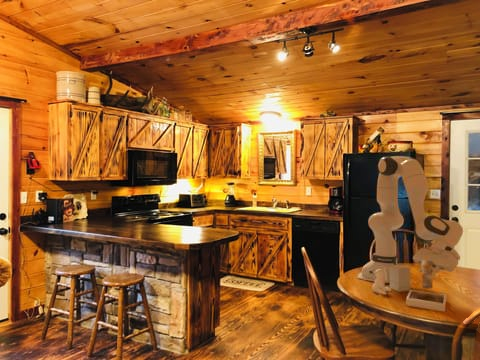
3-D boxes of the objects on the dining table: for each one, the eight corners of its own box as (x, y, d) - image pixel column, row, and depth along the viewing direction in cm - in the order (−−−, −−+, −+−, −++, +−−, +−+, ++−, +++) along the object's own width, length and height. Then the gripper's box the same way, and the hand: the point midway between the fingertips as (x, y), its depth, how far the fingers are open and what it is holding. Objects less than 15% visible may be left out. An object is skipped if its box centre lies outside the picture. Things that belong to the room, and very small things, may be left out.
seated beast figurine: (385, 296, 192) (385, 272, 192) (368, 293, 198) (368, 269, 197) (392, 292, 199) (392, 269, 199) (375, 288, 205) (375, 266, 204)
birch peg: (421, 287, 179) (421, 261, 179) (422, 285, 183) (422, 260, 182) (432, 289, 177) (432, 262, 176) (432, 286, 180) (433, 261, 180)
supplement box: (410, 292, 200) (410, 267, 199) (398, 293, 197) (398, 268, 197) (400, 287, 207) (401, 264, 206) (388, 289, 205) (389, 265, 204)
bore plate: (409, 304, 178) (409, 299, 177) (412, 297, 189) (412, 292, 189) (441, 310, 171) (441, 304, 171) (442, 301, 182) (443, 296, 182)
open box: (406, 306, 177) (406, 298, 177) (410, 297, 191) (410, 289, 190) (444, 313, 169) (444, 304, 169) (446, 303, 183) (446, 294, 183)
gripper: (418, 242, 192) (404, 264, 188) (457, 249, 173) (442, 273, 169) (424, 250, 194) (411, 272, 190) (464, 258, 175) (449, 282, 171)
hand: (426, 273), depth 179 cm, fingers closed on birch peg, 4 cm apart
